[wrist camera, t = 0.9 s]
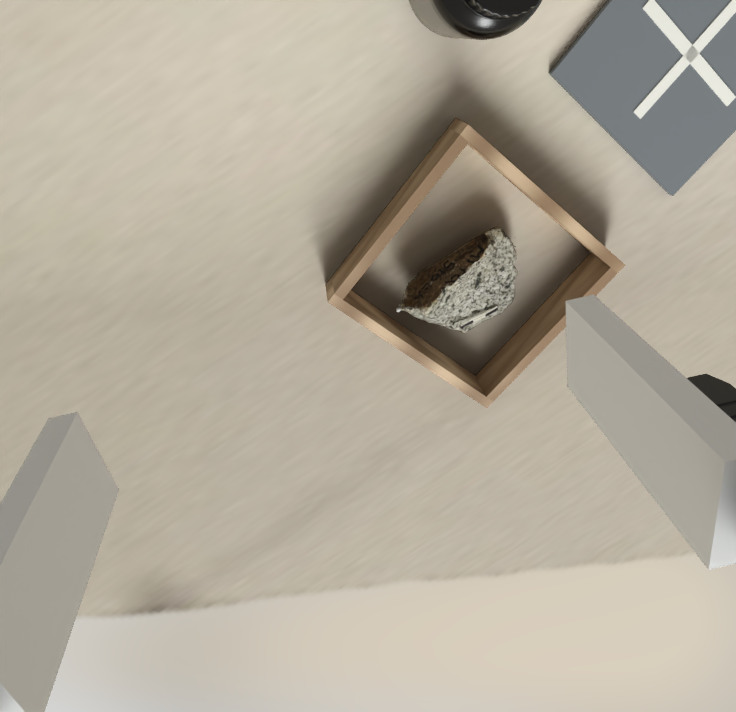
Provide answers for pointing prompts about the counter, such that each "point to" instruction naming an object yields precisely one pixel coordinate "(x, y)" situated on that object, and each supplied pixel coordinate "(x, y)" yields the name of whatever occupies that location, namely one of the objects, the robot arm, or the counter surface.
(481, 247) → the rock sample
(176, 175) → the counter surface
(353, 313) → the tray
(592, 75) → the rest mat
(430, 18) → the supplement bottle
